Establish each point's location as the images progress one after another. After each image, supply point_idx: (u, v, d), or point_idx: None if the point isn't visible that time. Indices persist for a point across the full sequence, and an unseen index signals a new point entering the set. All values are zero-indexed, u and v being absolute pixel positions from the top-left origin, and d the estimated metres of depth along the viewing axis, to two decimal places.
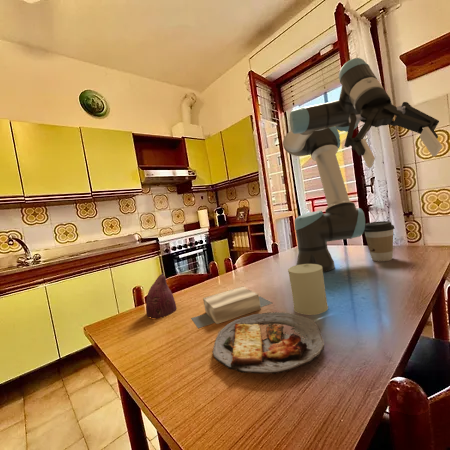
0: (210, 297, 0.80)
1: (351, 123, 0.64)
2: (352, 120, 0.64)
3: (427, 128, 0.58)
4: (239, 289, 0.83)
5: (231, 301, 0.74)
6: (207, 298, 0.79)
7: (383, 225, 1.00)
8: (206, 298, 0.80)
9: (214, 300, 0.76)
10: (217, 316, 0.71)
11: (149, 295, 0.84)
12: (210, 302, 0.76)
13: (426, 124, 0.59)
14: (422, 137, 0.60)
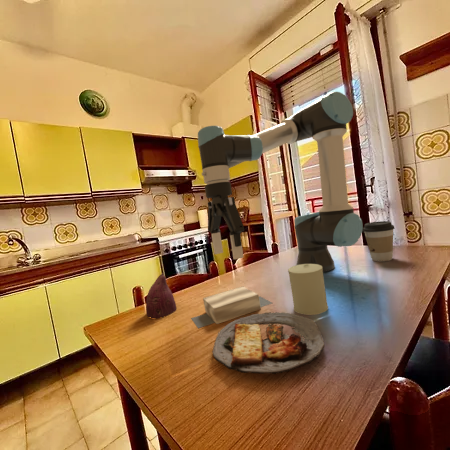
0: (210, 297, 0.80)
1: (208, 214, 0.81)
2: (208, 211, 0.80)
3: (230, 237, 0.68)
4: (239, 289, 0.83)
5: (231, 301, 0.74)
6: (207, 298, 0.79)
7: (383, 225, 1.00)
8: (206, 298, 0.80)
9: (214, 300, 0.76)
10: (217, 316, 0.71)
11: (149, 295, 0.84)
12: (210, 302, 0.76)
13: (231, 231, 0.68)
14: None
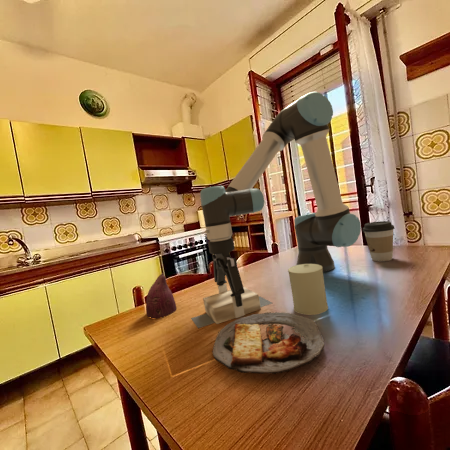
0: (210, 297, 0.80)
1: None
2: (213, 263, 0.83)
3: (232, 297, 0.72)
4: None
5: (231, 301, 0.74)
6: (207, 298, 0.79)
7: (383, 225, 1.00)
8: (206, 298, 0.80)
9: (214, 300, 0.76)
10: (217, 316, 0.71)
11: (149, 295, 0.84)
12: (210, 302, 0.76)
13: (232, 292, 0.72)
14: None
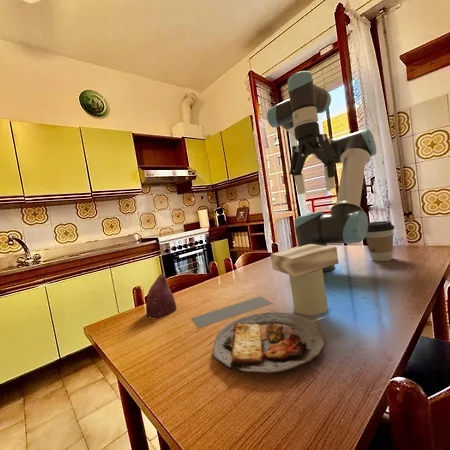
0: (278, 253, 0.72)
1: (292, 158, 0.89)
2: (292, 155, 0.89)
3: (324, 169, 0.76)
4: (308, 245, 0.75)
5: (308, 253, 0.66)
6: (276, 253, 0.72)
7: (383, 225, 1.00)
8: (274, 253, 0.72)
9: (287, 254, 0.69)
10: (295, 268, 0.64)
11: (149, 295, 0.84)
12: (283, 255, 0.68)
13: None
14: None
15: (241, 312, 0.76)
